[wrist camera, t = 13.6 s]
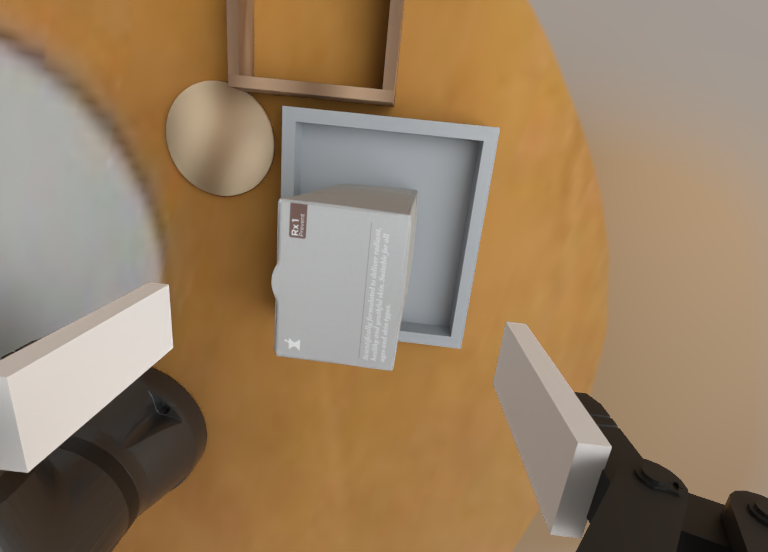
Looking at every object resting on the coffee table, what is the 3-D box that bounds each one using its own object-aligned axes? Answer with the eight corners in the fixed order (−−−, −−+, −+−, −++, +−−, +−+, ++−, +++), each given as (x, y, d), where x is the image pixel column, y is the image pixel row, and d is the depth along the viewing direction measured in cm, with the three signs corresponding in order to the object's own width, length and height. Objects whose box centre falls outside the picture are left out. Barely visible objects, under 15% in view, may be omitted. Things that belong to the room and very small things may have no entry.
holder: (244, 91, 32) (228, 86, 29) (242, -95, 28) (223, -122, 25) (394, 106, 32) (392, 102, 29) (412, -80, 28) (412, -106, 25)
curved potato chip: (173, 189, 35) (169, 190, 34) (165, 76, 32) (161, 75, 32) (274, 200, 35) (272, 201, 34) (275, 87, 32) (273, 86, 31)
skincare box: (409, 282, 35) (408, 383, 20) (329, 273, 35) (268, 367, 20) (421, 184, 32) (430, 216, 17) (334, 175, 33) (268, 199, 18)
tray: (288, 313, 38) (278, 326, 35) (293, 109, 32) (282, 105, 29) (457, 333, 37) (460, 348, 34) (492, 129, 32) (500, 127, 29)
